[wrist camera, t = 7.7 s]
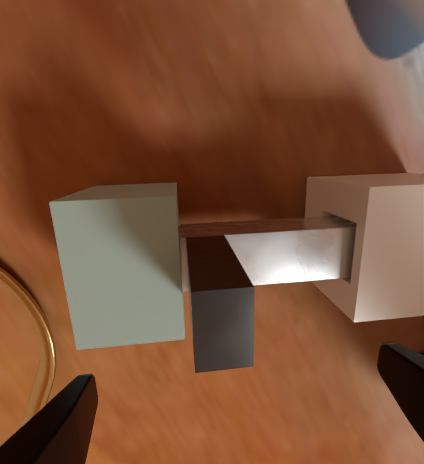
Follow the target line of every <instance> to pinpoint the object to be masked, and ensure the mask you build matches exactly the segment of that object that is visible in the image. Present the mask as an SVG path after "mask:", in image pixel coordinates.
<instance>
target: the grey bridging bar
mask: <svg viewBox="0 0 424 464" xmlns="http://www.w3.org/2000/svg"><path fill="white" fill-rule="evenodd" d="M356 228H357V223H355V222H352V221H350V220H347V219H344V218H342V217H339V216H318V217H300V218H283V219H265V220H247V221H230V222H212V223H194V224H179V227H178V234H179V250H180V265H181V280H182V291H189V297H190V310H191V323H192V336H193V350H194V363H195V373H199V372H208V371H217V370H226V369H234V368H243V367H252V366H253V355H254V286H253V285H264V284H276V283H288V282H301V281H313V280H325V279H337V278H350V277H351V273H352V264H353V255H354V246H355V237H356Z"/></svg>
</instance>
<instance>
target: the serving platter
mask: <svg viewBox="0 0 424 464" xmlns="http://www.w3.org/2000/svg"><path fill="white" fill-rule="evenodd" d="M0 282H1V283H2V284H4V285H5V286H6V287H7V288H8V289H9V290H10V291H11V292H12V293H13V294H14V295H15V296H16V297H17V298H18V299H19V301H20V302H21V303H22V304H23V306H24V307H25V309H26V310H27V312H28V313H29V315H30V317H31V319H32V321H33V323H34V326H35V328H36V331H37V334H38V338H39V344H40V364H39V369H38V373H37V377H36V380H35V383H34V386H33V390H32V393H31V396H30V399H29V403H28V406H27V409H26V412H25V416H24V419H23V422H22V425H21V427H22V426H23V425H24V424H25V423H27V422H28V421H29V420H30V419H31V418H32V417H33V416H34V414H36V413H38V412H39V411H40V410H41V409H42V408H43V407H44V406H45V405H46V404H47V401H48V398H49V395H50V392H51V389H52V386H53V382H54V377H55V371H56V351H55V344H54V340H53V336H52V333H51V330H50V327H49V325H48V322H47V320H46V318H45V316H44V314H43V312H42V311H41V309H40V307H39V306H38V304H37V303H36V301H35V300H34V299H33V297H32V296H31V295H30V294H29V292H28V291H27V290H26V289H25V288H24V287H23V286H22V285H21V284H20V283H19V282H18V281H17V280H16V279H15V278H14V277H13V276H11V275H10V274H9V273H8V272H7V271H5V270H4V269H3V268H1V267H0ZM48 355H49V357H48ZM41 392H42V393H41ZM40 395H41V396H40Z"/></svg>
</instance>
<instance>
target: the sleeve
mask: <svg viewBox="0 0 424 464" xmlns="http://www.w3.org/2000/svg"><path fill="white" fill-rule="evenodd" d="M318 216H339V217H342V218H344V219H347V220H350V221H352V222H355V223H357V228H356V237H355V246H354V255H353V264H352V273H351V277H350V278H337V279H325V280H313V281H311V282H312V283H313V284H314V285H315V286H316V287H317V288H318V289H319V290H320V291H321V292H322V293H323V294H324V295H325V296H326V297H327V298H329V299H330V300H331V301H332V302H333V303H334V304H335V305H336V306H337V307H338V308H339V309H340V310H341V311H342V312H343V313H344V314H345V315H346V316H348V317H349V318H350V319H351V320H352V321H353V322H354V323H355V322H365V321H375V320H385V319H395V318H405V317H415V316H424V174H417V173H391V174H367V175H342V176H318V177H307V188H306V205H305V217H318Z"/></svg>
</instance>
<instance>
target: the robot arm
mask: <svg viewBox="0 0 424 464" xmlns="http://www.w3.org/2000/svg"><path fill="white" fill-rule="evenodd" d="M377 367H378V371H379V373H380V375H381V377H382V379H383V380H384V382H385V383H386V385H387V387H388V388H389V390H390V392H391V393H392V395H393V397H394V398H395V400H396V401H397V403H398V405H399V406H400V408H401V410H402V411H403V413H404V414H405V416H406V418H407V419H408V421H409V422H410V424H411V425H412V426H413V428H414V429H415V431H416V432H417V434H418V435H419V436H420V438H421V439H422V440H423V442H424V353H422V354H419V353H417V352H414V351H412V350H410V349H408V348H405V347H403V346H401V345H398V344H396V343H387V344H382V345H381V346H380V350H379V356H378V363H377ZM97 405H98V394H97V388H96V382H95V377H94V375H93V374H84V375H79V376H77V377H76V378H75V379H74V380H73V381H71V382H70V383H69V384H68V385H67V386H66V387H65V388H64V389H63V390H62V391H61V392H59V393H58V394H57V395H56V396H55V397H54V398H53V399H52V400H51V401H50V402H48V403H47V404H46V405H45V406H44V407H43V408H42V409H41V410H40V411H39V412H38V413H36V414H35V415H34V416H33V417H32V418H31V419H30V420H29V421H28V422H27V423H25V424H24V425H23V426H22V427H21V428H20V429H19V430H18V431H17V432H16V433H15V434H13V435H12V436H11V437H10V438H9V439H8V440H7V441H6V442H5V443H4V444H3V445H1V446H0V464H85V462H86V458H87V453H88V448H89V443H90V439H91V434H92V429H93V424H94V419H95V414H96V410H97Z"/></svg>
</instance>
